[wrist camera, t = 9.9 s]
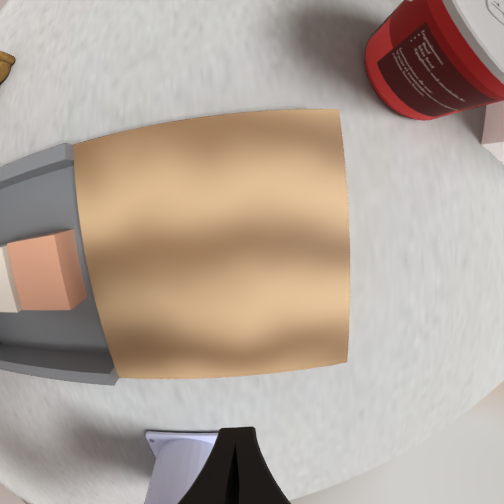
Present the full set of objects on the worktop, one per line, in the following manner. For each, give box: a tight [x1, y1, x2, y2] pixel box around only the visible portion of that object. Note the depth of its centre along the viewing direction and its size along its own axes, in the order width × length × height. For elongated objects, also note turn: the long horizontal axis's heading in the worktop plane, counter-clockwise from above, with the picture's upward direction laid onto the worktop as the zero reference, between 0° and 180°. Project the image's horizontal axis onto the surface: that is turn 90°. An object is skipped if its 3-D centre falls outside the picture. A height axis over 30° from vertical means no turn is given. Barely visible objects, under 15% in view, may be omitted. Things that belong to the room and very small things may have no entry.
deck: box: [73, 109, 350, 379], centre depth 18 cm, size 16×16×2 cm
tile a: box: [7, 229, 87, 310], centre depth 17 cm, size 5×5×2 cm
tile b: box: [0, 244, 22, 313], centre depth 17 cm, size 5×5×2 cm
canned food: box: [365, 0, 504, 120], centre depth 11 cm, size 8×8×11 cm
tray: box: [0, 143, 119, 385], centre depth 17 cm, size 16×16×4 cm
